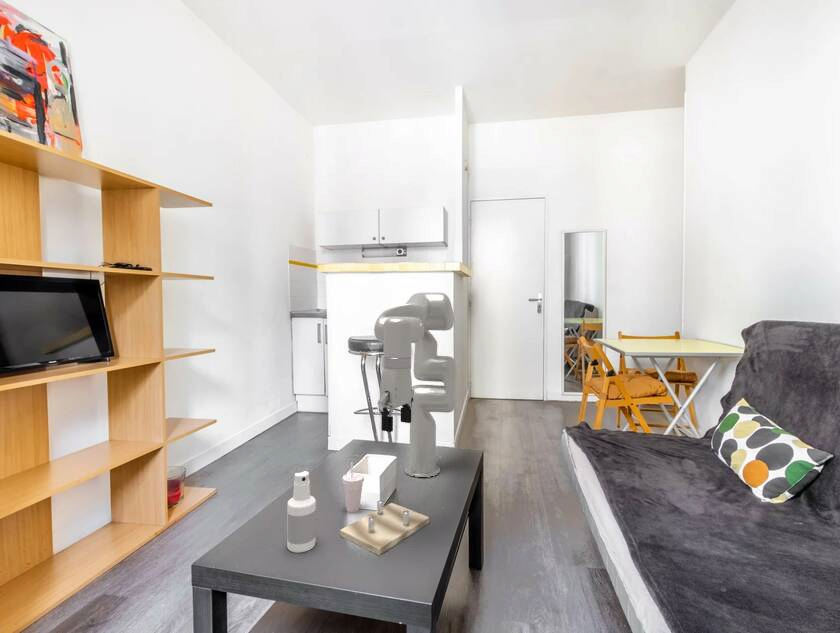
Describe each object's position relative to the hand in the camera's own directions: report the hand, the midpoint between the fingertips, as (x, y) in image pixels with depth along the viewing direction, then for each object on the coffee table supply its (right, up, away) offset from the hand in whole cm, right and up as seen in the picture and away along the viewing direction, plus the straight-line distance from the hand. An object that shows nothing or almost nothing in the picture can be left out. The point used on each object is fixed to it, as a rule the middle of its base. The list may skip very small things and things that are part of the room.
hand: (396, 426), depth 114 cm
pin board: (-3, -27, -1) cm, 27 cm away
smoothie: (-13, -27, +10) cm, 32 cm away
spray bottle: (-23, -27, -9) cm, 37 cm away
